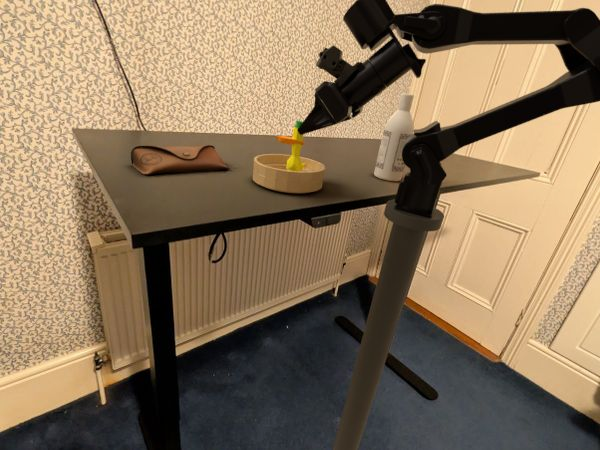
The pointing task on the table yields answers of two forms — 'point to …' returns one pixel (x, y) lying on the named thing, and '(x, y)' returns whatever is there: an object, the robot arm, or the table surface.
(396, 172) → the bath foam
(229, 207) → the table surface
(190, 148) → the sunglasses case
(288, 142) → the toy figure
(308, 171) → the bowl
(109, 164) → the table surface
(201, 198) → the table surface
